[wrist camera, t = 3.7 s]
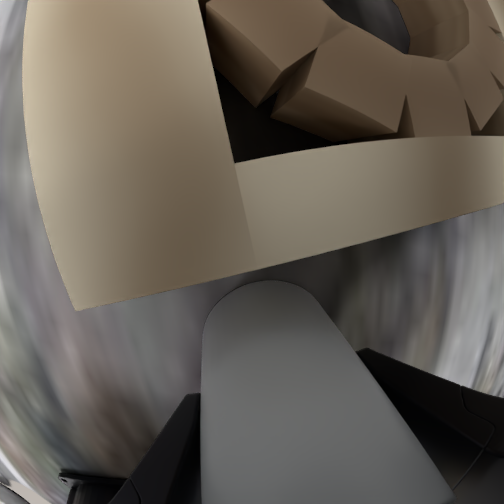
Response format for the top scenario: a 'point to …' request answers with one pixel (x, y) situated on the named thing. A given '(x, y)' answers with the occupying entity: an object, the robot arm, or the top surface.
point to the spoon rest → (10, 496)
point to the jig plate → (217, 142)
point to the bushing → (299, 411)
